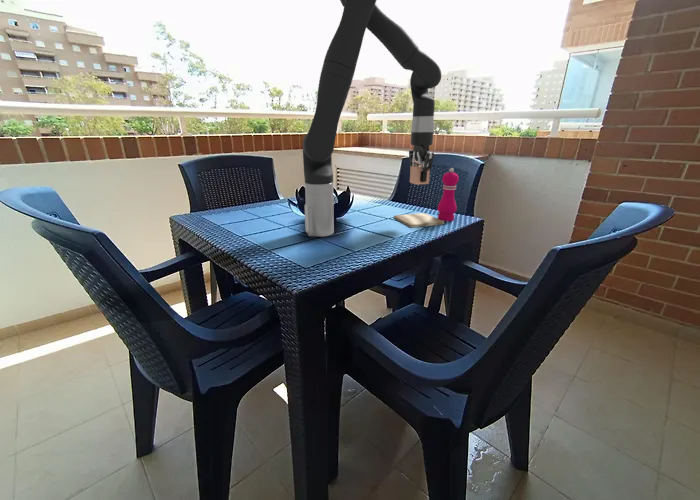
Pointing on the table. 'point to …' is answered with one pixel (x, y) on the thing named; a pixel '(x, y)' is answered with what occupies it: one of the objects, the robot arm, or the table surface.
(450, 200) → the pepper mill
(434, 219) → the birch board
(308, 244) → the table surface
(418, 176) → the terracotta block
